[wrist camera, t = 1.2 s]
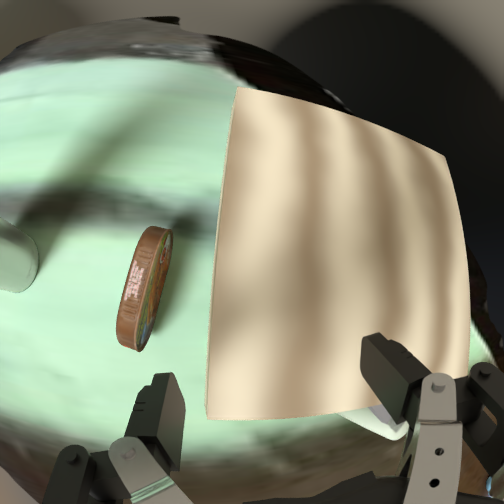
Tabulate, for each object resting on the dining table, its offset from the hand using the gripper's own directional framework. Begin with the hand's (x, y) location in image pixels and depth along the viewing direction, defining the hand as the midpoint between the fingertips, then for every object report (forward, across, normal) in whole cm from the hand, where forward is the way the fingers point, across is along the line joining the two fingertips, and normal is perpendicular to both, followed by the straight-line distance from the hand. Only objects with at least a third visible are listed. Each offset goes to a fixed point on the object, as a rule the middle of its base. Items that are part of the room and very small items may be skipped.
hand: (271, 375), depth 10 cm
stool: (+27, -6, +7) cm, 29 cm away
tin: (+25, +12, +4) cm, 28 cm away
